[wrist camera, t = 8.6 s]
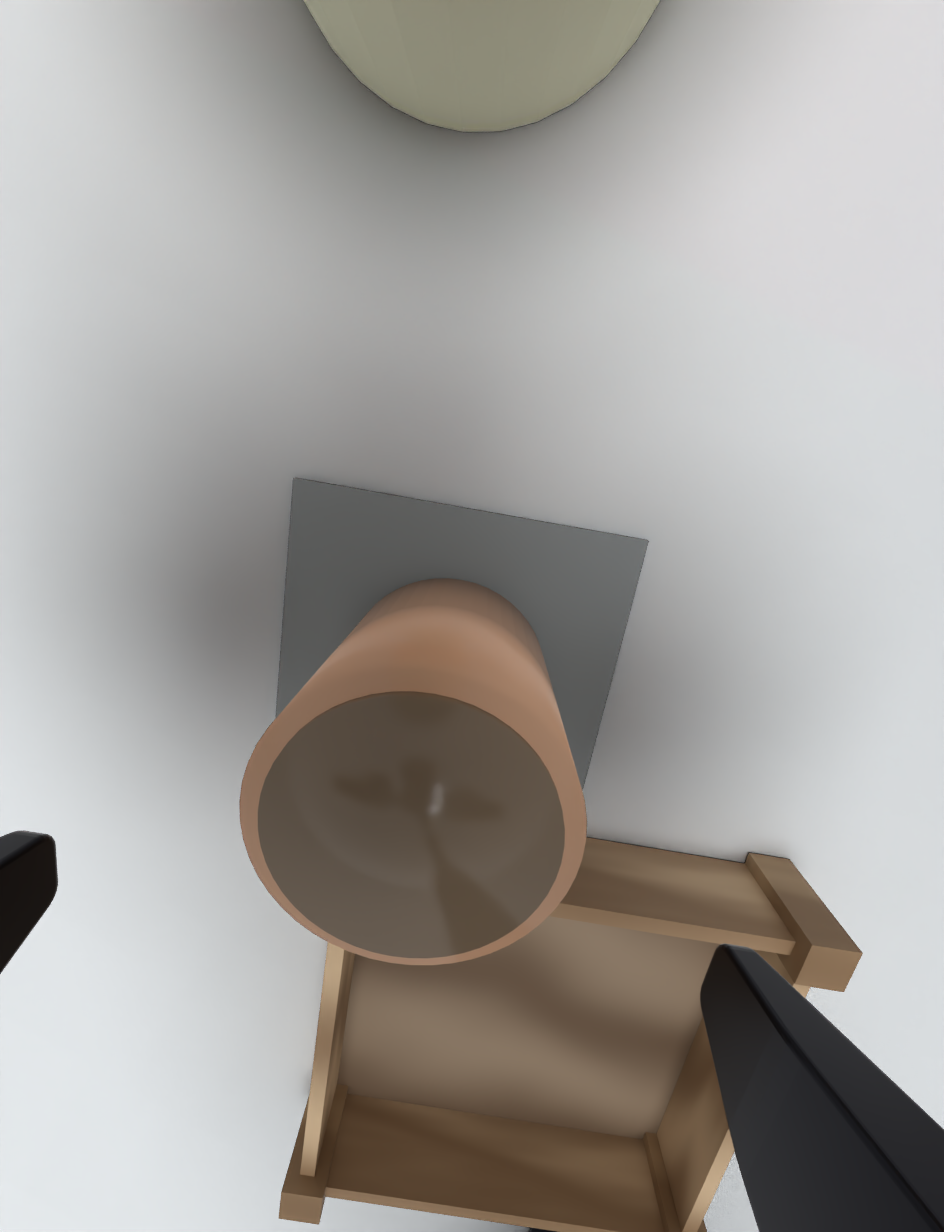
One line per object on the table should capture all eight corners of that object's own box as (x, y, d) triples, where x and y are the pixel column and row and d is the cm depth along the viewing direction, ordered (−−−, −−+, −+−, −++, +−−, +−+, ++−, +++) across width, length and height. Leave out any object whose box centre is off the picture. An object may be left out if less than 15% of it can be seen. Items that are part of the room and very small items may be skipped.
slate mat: (568, 834, 17) (569, 838, 17) (272, 785, 17) (270, 788, 17) (646, 539, 15) (649, 540, 14) (295, 478, 14) (292, 477, 14)
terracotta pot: (522, 777, 16) (546, 999, 10) (337, 745, 16) (226, 946, 9) (564, 597, 15) (629, 708, 8) (358, 561, 15) (243, 641, 8)
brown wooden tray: (668, 1153, 21) (702, 1281, 18) (312, 1098, 21) (278, 1218, 18) (789, 859, 17) (862, 953, 14) (350, 786, 17) (316, 864, 14)
